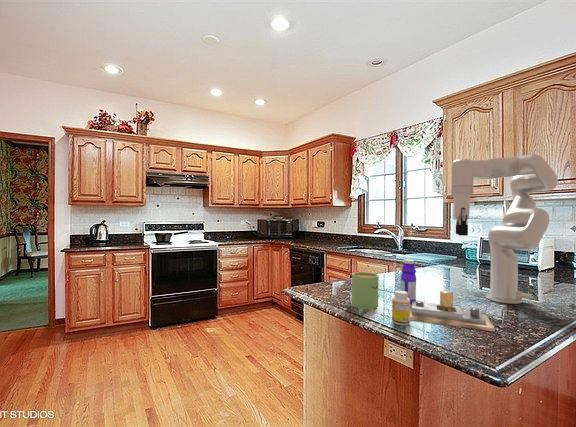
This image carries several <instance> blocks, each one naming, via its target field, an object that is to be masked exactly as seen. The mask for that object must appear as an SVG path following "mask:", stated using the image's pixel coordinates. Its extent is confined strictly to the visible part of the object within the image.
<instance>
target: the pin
mask: <svg viewBox="0 0 576 427" xmlns="http://www.w3.org/2000/svg"><path fill="white" fill-rule="evenodd" d="M439 294H440V295H439V304H440V310H443V311H451V312H453V306H454V292H453V291H449V290H441V291H439Z"/></svg>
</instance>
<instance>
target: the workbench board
mask: <svg viewBox="0 0 576 427" xmlns="http://www.w3.org/2000/svg"><path fill="white" fill-rule="evenodd" d="M482 315H483V317H484V319H485V320H486V325H484V324H477V323H470V322H462V321H455V320H448V319H440V318H433V317H426V316H419V315H412V305H410V321H419V322H425V323H433V324H439V325H440V324H441V325H445V324H446V325H447V326H452V325H453V327H460V328H467V329H475V330H481V331H489V332H494V333H495V331H496V328H495V326H494V325H493V323H492V321H491V320H490V318H489V317H488V315H487V314H482Z"/></svg>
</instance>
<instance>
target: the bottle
mask: <svg viewBox="0 0 576 427" xmlns="http://www.w3.org/2000/svg"><path fill="white" fill-rule="evenodd" d="M416 273H417V270H416V267H415V260H414V259H407V258H406V259H403V265H402V268H401V275H400V280H401V281H400V284H401V285H400V291H405V292H407V293H408V297H407V298H409V299H410V305H412V302H413V301H415V302H417V294H416V293H417V275H416Z"/></svg>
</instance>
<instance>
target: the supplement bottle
mask: <svg viewBox="0 0 576 427" xmlns="http://www.w3.org/2000/svg"><path fill="white" fill-rule="evenodd" d="M407 297H408V293H407V292H405V291H401V290H395V291H394V296H393V297H392V300H391V301H392V302H391V304H392V305H391V307H392V308H391V313H392V314H391V317H392V318H391V319H392V322H393V324H396V325H398V326H408V325H410V323H411V319H410V306H411V304H410V299H409V298H407Z"/></svg>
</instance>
